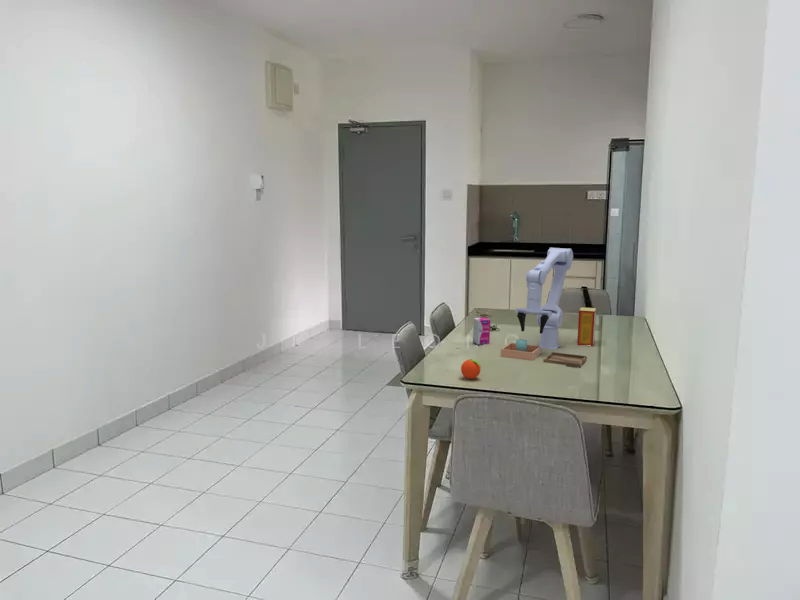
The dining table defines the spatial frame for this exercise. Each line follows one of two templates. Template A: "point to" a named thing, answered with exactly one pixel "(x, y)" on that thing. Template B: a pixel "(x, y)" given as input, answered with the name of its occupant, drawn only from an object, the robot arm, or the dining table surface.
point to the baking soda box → (586, 326)
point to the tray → (565, 359)
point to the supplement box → (481, 331)
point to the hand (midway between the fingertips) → (531, 332)
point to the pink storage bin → (521, 352)
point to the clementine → (470, 369)
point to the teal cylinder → (521, 345)
